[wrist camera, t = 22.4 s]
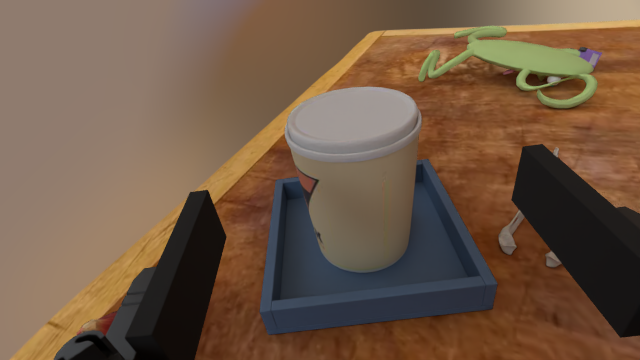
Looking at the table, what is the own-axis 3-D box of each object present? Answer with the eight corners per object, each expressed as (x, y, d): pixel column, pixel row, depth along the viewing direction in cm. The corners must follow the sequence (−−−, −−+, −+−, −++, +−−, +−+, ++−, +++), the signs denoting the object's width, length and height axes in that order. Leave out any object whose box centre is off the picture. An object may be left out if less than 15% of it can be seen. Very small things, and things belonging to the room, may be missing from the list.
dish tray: (268, 335, 25) (259, 312, 23) (281, 200, 38) (275, 179, 36) (492, 309, 24) (498, 283, 23) (427, 180, 37) (428, 158, 35)
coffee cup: (317, 206, 35) (295, 91, 29) (413, 202, 34) (415, 79, 27) (302, 281, 28) (267, 149, 21) (425, 282, 26) (431, 139, 19)
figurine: (466, 49, 70) (469, 19, 67) (632, 70, 51) (646, 30, 48) (404, 79, 62) (403, 46, 59) (574, 116, 43) (586, 71, 40)
